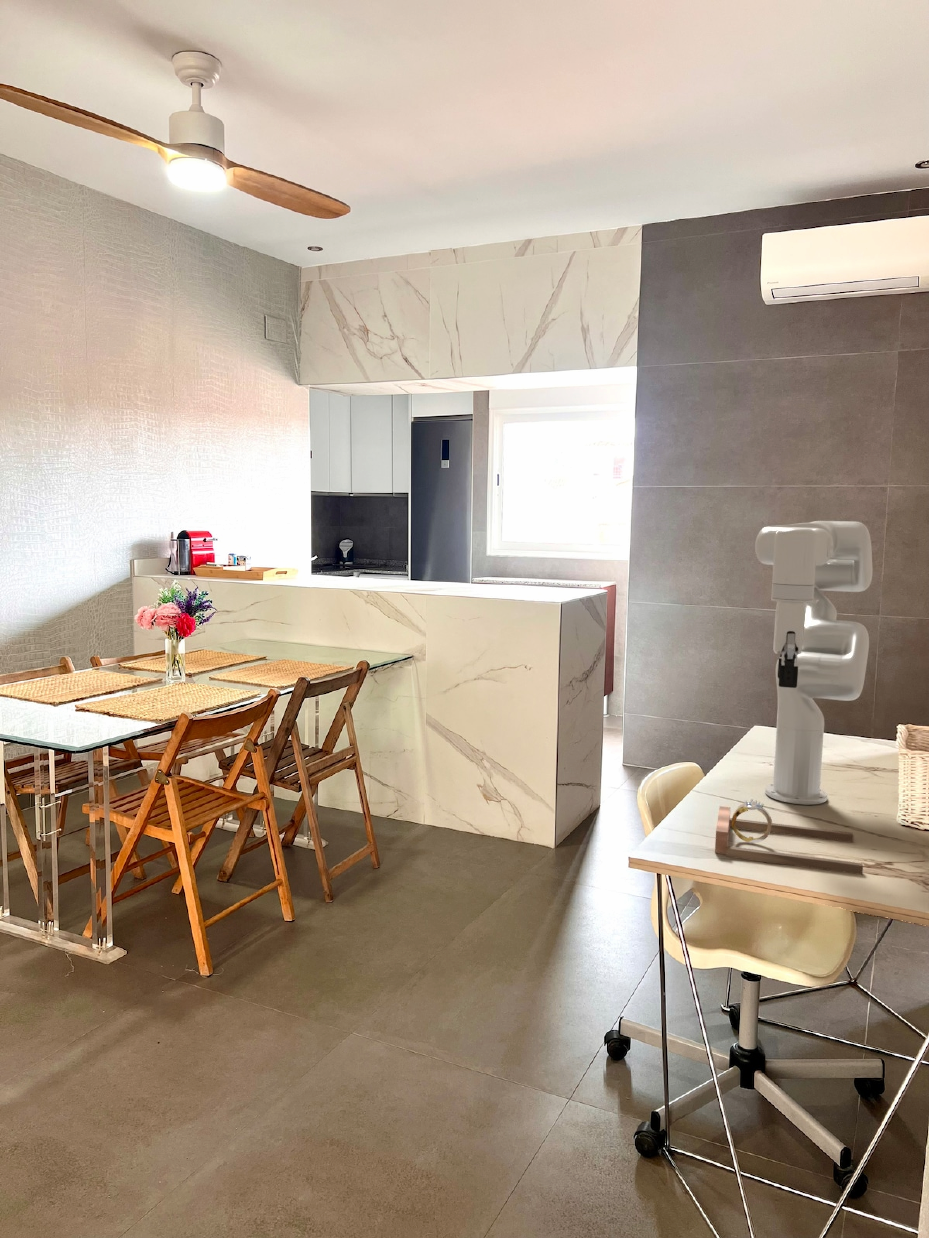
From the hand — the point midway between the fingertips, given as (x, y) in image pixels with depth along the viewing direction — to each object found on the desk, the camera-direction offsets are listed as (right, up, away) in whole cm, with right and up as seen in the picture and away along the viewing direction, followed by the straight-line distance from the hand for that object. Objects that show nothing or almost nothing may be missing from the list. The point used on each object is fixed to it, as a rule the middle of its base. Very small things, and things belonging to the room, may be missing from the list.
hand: (786, 682), depth 170 cm
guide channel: (-3, -29, -9) cm, 31 cm away
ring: (-9, -29, -7) cm, 31 cm away
